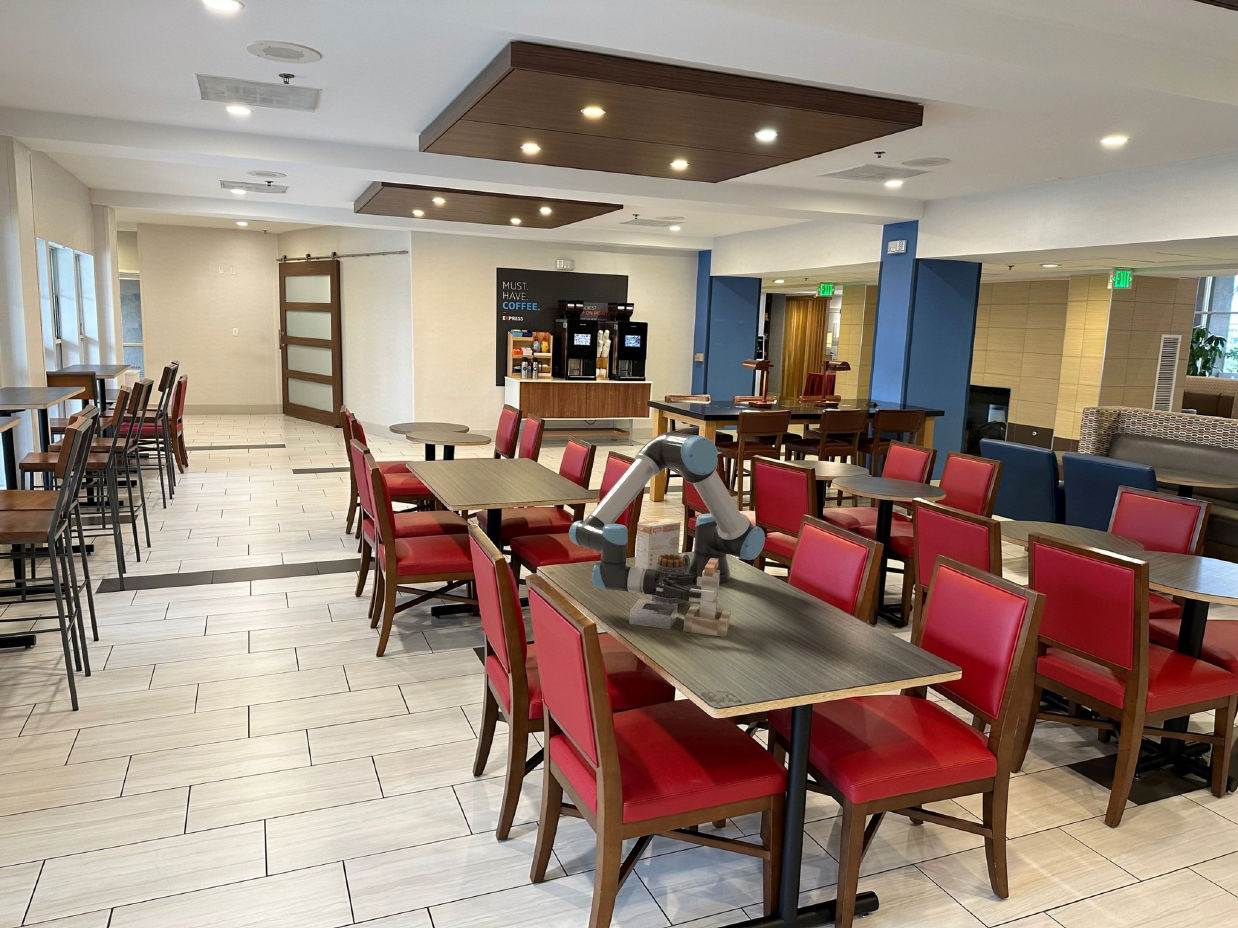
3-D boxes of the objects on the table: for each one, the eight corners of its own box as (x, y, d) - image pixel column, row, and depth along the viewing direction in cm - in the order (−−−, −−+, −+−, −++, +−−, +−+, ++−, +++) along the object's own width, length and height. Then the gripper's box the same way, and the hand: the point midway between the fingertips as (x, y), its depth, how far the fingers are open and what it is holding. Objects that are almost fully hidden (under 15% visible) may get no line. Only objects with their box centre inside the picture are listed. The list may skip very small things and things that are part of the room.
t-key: (702, 620, 249) (707, 557, 247) (717, 622, 248) (722, 559, 246) (696, 632, 238) (701, 566, 235) (711, 635, 237) (716, 568, 234)
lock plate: (638, 611, 254) (638, 598, 253) (676, 616, 251) (677, 604, 251) (629, 623, 242) (630, 610, 242) (669, 629, 240) (670, 615, 239)
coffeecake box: (664, 570, 304) (668, 518, 301) (677, 575, 298) (681, 521, 295) (633, 575, 294) (636, 521, 291) (646, 580, 289) (650, 525, 286)
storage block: (689, 618, 250) (690, 605, 250) (729, 623, 248) (730, 610, 247) (683, 631, 239) (684, 617, 238) (725, 636, 236) (726, 623, 235)
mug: (672, 610, 257) (676, 563, 255) (644, 602, 264) (648, 556, 261) (699, 600, 270) (702, 555, 268) (672, 592, 276) (675, 548, 274)
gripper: (651, 582, 258) (720, 590, 254) (634, 605, 234) (709, 615, 230) (653, 558, 257) (722, 566, 253) (636, 579, 233) (711, 588, 228)
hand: (716, 589), depth 241 cm, fingers open, 13 cm apart
